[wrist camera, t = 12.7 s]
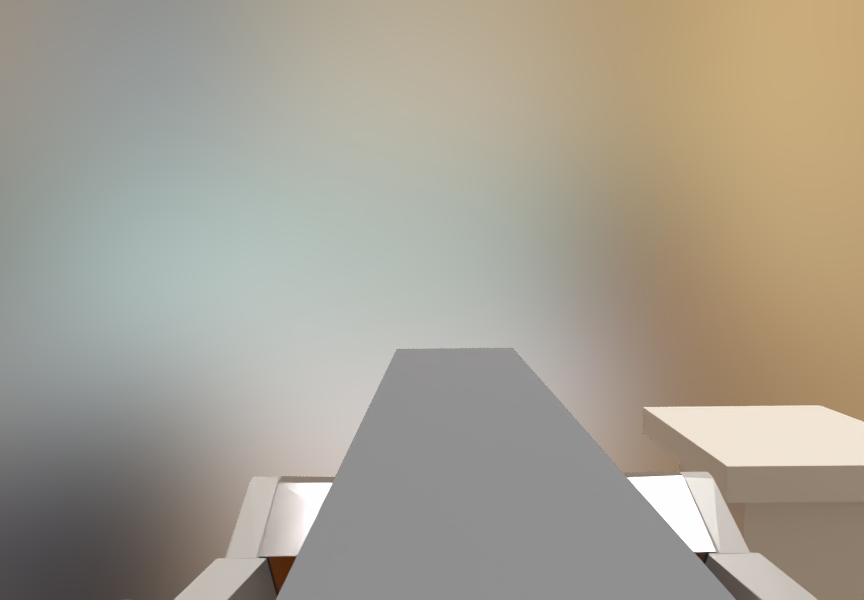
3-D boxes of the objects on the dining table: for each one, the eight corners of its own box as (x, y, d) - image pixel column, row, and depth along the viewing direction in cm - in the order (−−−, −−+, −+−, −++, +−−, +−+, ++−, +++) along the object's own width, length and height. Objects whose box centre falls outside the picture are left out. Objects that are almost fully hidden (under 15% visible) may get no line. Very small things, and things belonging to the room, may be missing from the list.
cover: (272, 802, 6) (266, 618, 6) (397, 395, 26) (396, 349, 26) (746, 799, 6) (750, 615, 6) (512, 393, 26) (512, 347, 26)
